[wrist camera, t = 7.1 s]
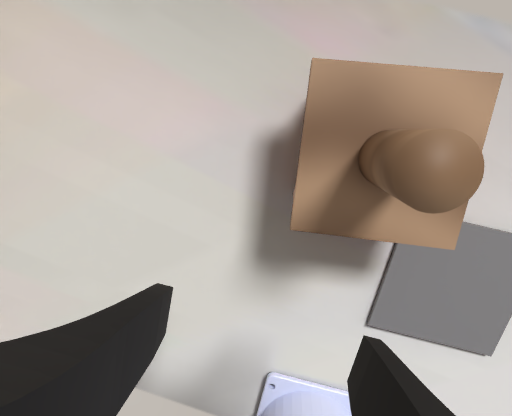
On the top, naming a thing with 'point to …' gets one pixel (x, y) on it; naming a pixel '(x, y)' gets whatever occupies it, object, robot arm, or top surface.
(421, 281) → the mat
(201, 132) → the top surface
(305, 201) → the lid
